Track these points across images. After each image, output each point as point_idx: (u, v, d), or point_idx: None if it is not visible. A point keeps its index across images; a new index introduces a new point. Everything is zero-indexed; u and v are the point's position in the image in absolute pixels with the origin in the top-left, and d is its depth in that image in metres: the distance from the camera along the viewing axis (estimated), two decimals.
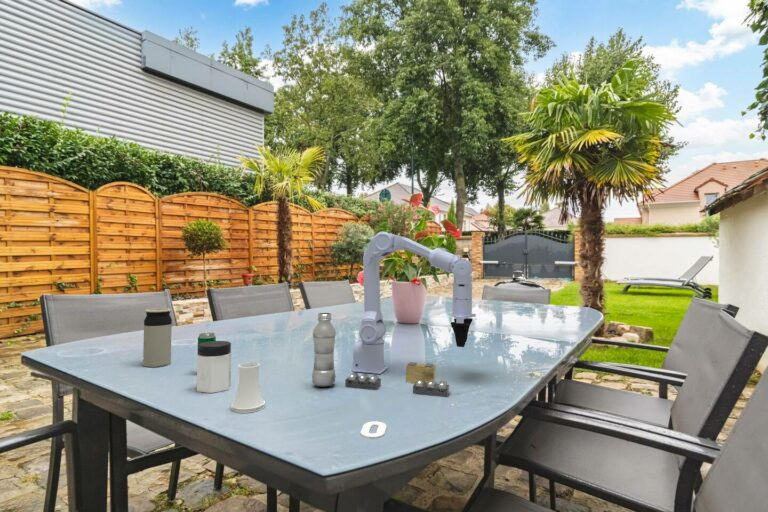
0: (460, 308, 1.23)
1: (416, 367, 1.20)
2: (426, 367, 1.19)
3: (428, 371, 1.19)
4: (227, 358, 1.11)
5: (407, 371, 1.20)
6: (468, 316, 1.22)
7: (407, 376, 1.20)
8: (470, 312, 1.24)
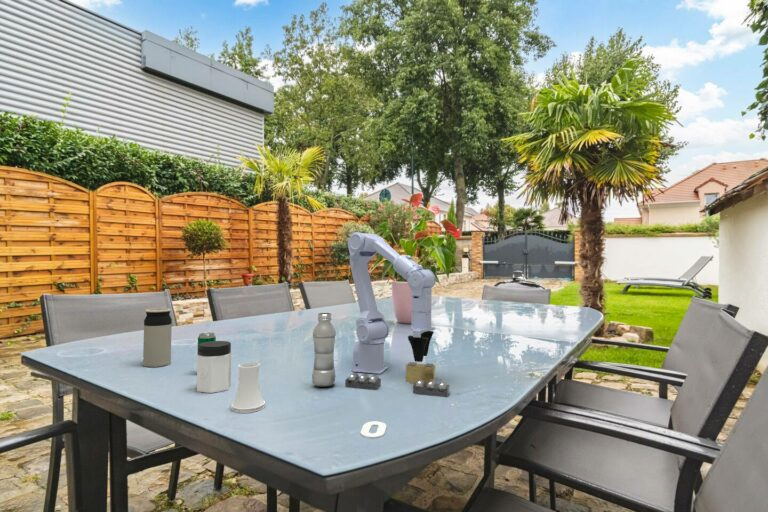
0: (418, 321, 1.18)
1: (416, 367, 1.20)
2: (426, 367, 1.19)
3: (428, 371, 1.19)
4: (227, 358, 1.11)
5: (407, 371, 1.20)
6: (426, 329, 1.17)
7: (407, 376, 1.20)
8: (429, 325, 1.19)
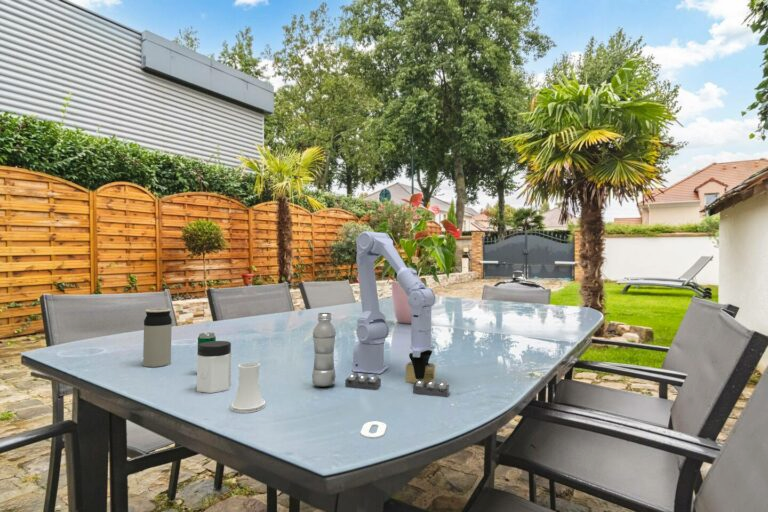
0: (418, 340, 1.18)
1: None
2: (426, 367, 1.19)
3: (428, 371, 1.19)
4: (227, 358, 1.11)
5: (407, 371, 1.20)
6: (426, 349, 1.17)
7: (407, 376, 1.20)
8: (428, 344, 1.19)
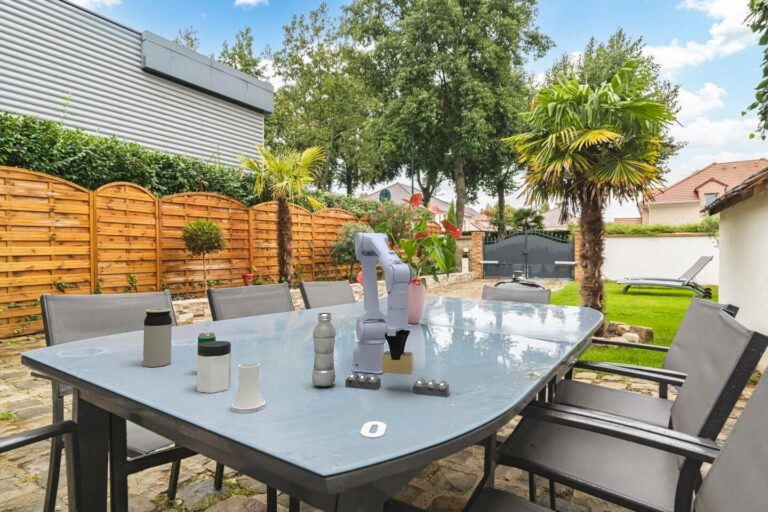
0: (393, 318, 1.11)
1: None
2: (403, 355, 1.12)
3: (405, 360, 1.11)
4: (227, 358, 1.11)
5: (383, 360, 1.13)
6: (402, 327, 1.10)
7: (383, 366, 1.13)
8: (405, 323, 1.12)
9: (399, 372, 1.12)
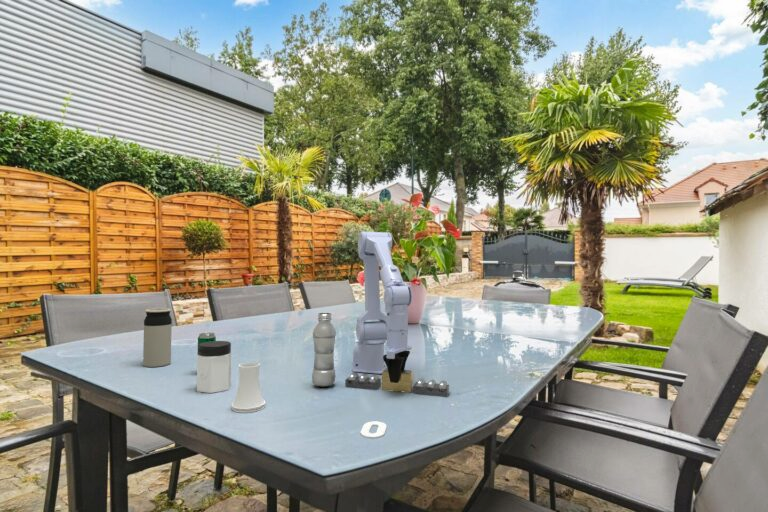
0: (393, 340, 1.11)
1: None
2: (403, 374, 1.11)
3: (404, 378, 1.11)
4: (227, 358, 1.11)
5: (383, 378, 1.13)
6: (401, 350, 1.10)
7: (383, 383, 1.13)
8: (405, 345, 1.12)
9: (398, 390, 1.12)
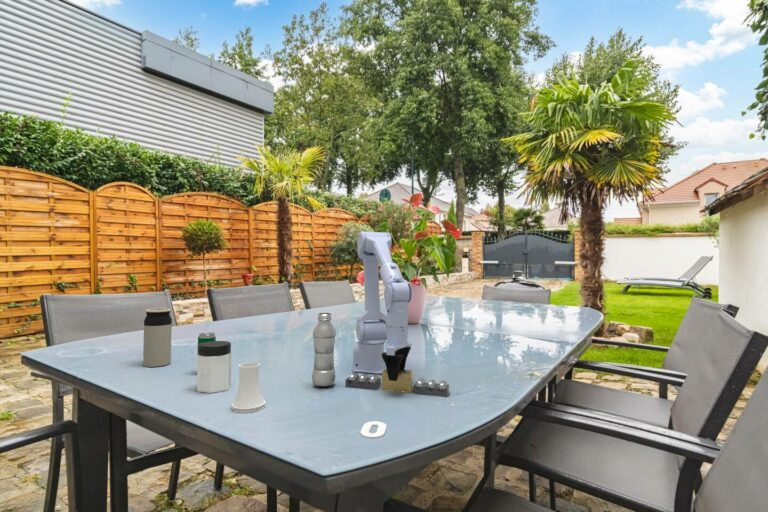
0: (393, 337, 1.11)
1: None
2: (403, 374, 1.11)
3: (404, 378, 1.11)
4: (227, 358, 1.11)
5: (383, 378, 1.13)
6: (401, 346, 1.10)
7: (383, 383, 1.13)
8: (404, 342, 1.12)
9: (398, 390, 1.12)
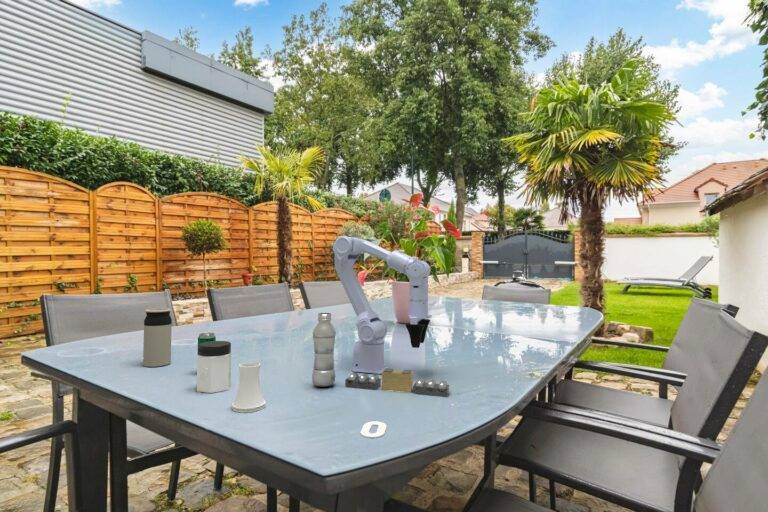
0: (415, 309, 1.25)
1: (392, 374, 1.12)
2: (403, 374, 1.11)
3: (404, 378, 1.11)
4: (227, 358, 1.11)
5: (383, 378, 1.13)
6: (423, 317, 1.24)
7: (383, 383, 1.13)
8: (425, 314, 1.25)
9: (398, 390, 1.12)
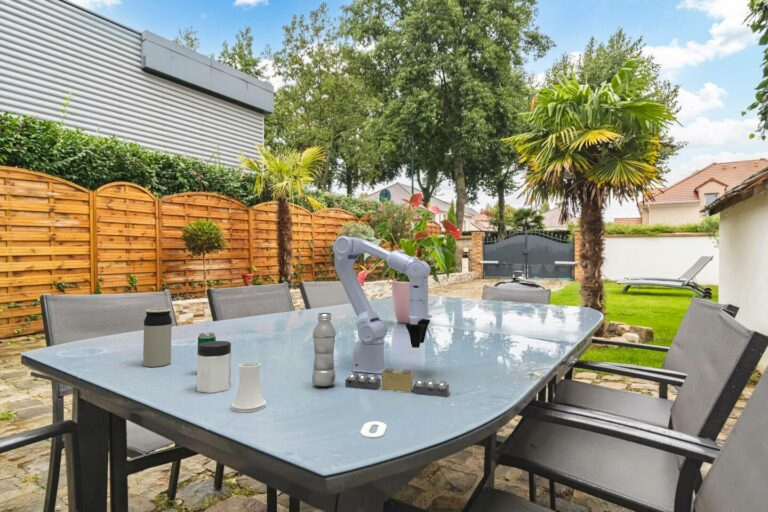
0: (415, 309, 1.25)
1: (392, 374, 1.12)
2: (403, 374, 1.11)
3: (404, 378, 1.11)
4: (227, 358, 1.11)
5: (383, 378, 1.13)
6: (423, 317, 1.24)
7: (383, 383, 1.13)
8: (425, 314, 1.25)
9: (398, 390, 1.12)
